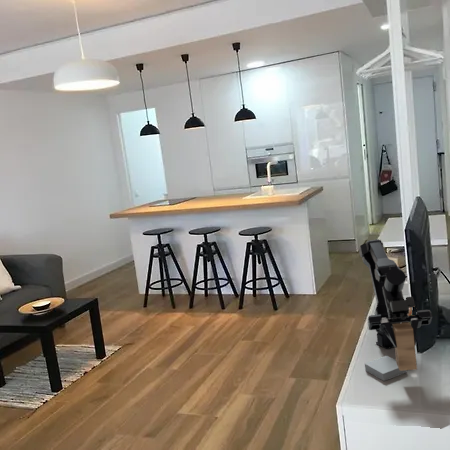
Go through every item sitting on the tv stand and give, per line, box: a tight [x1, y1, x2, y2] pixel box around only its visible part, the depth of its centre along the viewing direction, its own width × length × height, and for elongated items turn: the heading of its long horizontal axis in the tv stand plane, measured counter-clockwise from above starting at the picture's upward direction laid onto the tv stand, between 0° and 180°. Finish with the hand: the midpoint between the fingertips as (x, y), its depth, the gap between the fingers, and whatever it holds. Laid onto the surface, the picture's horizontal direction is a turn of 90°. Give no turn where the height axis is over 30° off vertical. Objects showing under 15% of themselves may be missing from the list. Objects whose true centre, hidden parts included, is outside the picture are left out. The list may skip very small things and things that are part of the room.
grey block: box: [364, 355, 407, 382], centre depth 163 cm, size 9×9×2 cm
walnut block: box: [392, 322, 418, 371], centre depth 153 cm, size 5×5×13 cm
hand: (405, 346), depth 152 cm, fingers closed on walnut block, 5 cm apart
